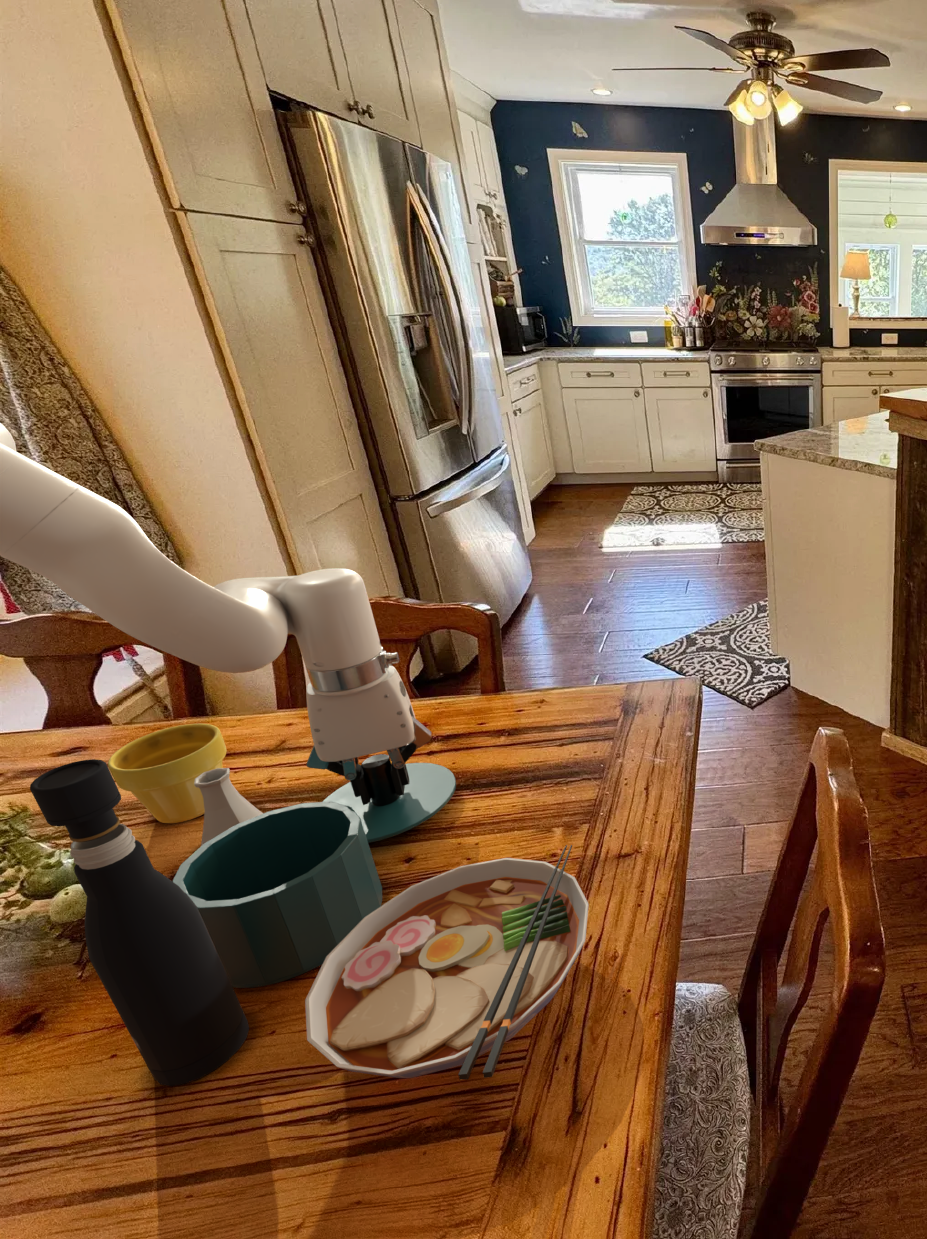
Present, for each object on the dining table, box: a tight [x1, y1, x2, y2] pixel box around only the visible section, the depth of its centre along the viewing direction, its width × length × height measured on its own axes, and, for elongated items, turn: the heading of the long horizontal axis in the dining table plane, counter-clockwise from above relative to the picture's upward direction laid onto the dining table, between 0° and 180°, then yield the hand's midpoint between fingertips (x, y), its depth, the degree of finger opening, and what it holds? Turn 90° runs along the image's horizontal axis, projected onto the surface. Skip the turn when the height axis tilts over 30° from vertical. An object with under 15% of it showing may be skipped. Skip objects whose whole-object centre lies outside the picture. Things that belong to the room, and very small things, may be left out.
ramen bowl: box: [304, 844, 590, 1081], centre depth 66 cm, size 25×23×8 cm
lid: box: [322, 753, 457, 844], centre depth 90 cm, size 16×16×7 cm
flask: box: [194, 767, 264, 847], centre depth 84 cm, size 7×7×10 cm
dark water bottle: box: [29, 758, 250, 1087], centre depth 57 cm, size 6×6×30 cm
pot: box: [171, 801, 383, 989], centre depth 73 cm, size 15×15×10 cm
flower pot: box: [107, 723, 228, 824], centre depth 90 cm, size 10×10×10 cm
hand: (384, 792), depth 91 cm, fingers closed on lid, 3 cm apart
